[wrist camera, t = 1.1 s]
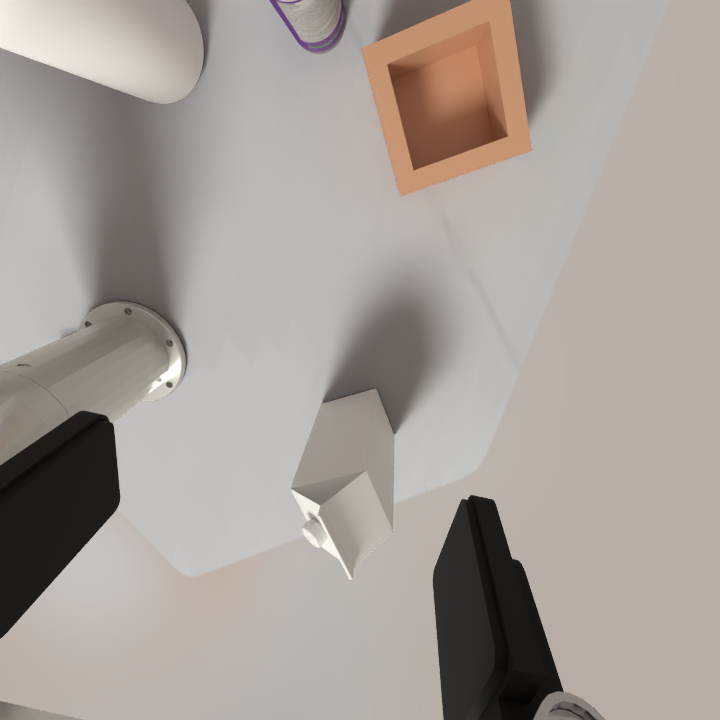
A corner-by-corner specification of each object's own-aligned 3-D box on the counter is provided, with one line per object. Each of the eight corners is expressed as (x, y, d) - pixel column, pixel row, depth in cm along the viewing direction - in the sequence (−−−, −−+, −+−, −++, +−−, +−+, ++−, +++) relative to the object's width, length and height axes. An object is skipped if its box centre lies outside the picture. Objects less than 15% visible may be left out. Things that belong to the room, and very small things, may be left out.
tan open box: (400, 195, 37) (400, 196, 32) (367, 71, 34) (361, 48, 28) (511, 156, 35) (531, 150, 30) (488, 20, 32) (507, -16, 26)
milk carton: (376, 387, 46) (362, 506, 28) (394, 435, 48) (392, 572, 31) (320, 402, 47) (276, 524, 30) (341, 449, 50) (311, 586, 32)
